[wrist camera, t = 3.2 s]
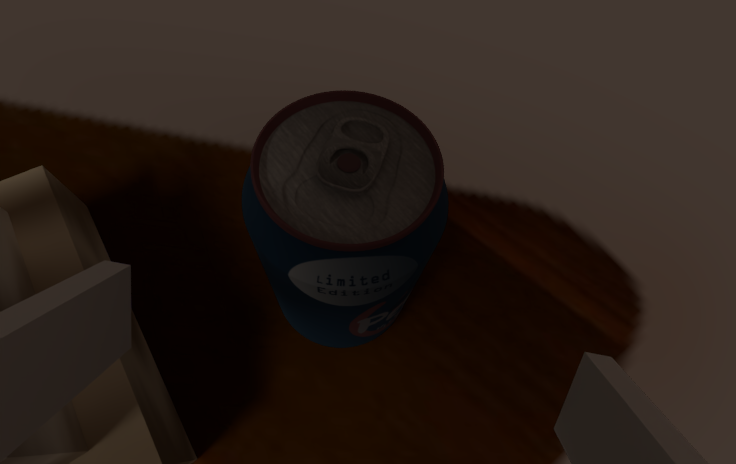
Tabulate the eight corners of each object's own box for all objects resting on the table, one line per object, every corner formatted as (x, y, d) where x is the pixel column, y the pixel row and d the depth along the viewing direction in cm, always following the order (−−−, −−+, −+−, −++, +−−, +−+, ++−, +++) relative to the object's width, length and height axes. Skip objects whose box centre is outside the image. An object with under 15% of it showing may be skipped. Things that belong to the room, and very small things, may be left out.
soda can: (382, 370, 20) (436, 304, 9) (259, 327, 21) (179, 220, 10) (414, 256, 23) (482, 110, 13) (307, 221, 24) (286, 54, 13)
